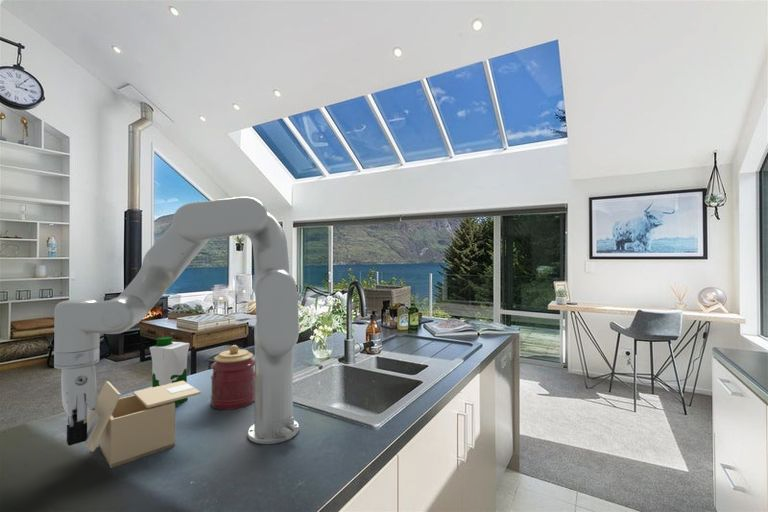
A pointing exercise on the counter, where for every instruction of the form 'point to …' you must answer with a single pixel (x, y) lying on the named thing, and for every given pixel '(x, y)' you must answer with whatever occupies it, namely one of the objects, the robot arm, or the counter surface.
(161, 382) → the milk carton
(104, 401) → the outer flap
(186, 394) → the panel
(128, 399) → the parcel
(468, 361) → the counter surface
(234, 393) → the canister
